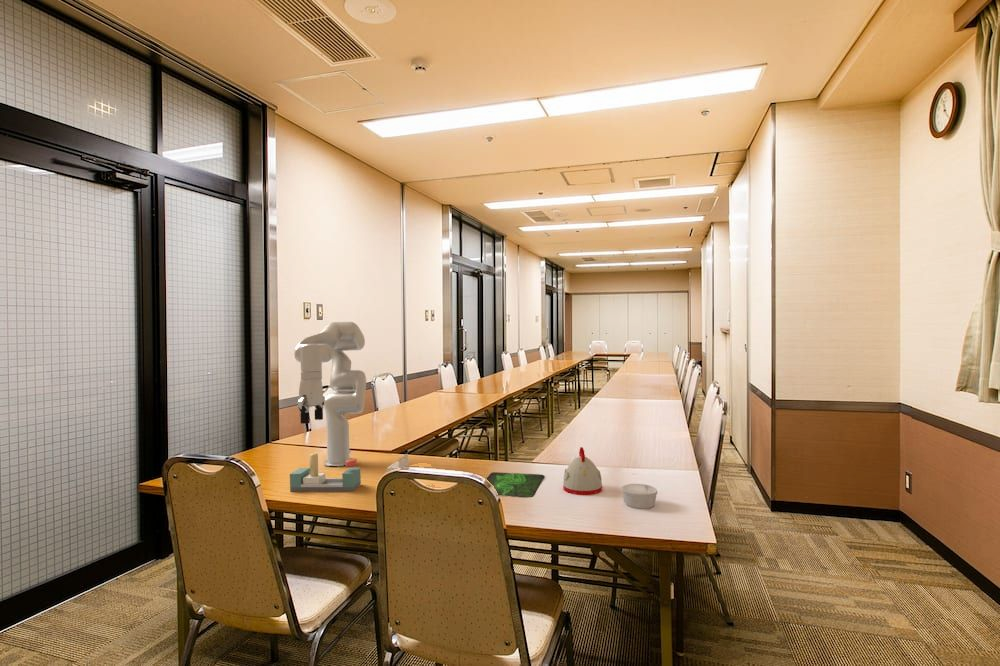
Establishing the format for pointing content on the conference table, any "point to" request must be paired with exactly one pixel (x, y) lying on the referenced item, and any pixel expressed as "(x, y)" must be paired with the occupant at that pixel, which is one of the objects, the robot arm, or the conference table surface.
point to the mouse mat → (515, 484)
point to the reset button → (351, 463)
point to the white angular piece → (399, 463)
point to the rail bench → (326, 481)
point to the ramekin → (639, 496)
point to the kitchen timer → (582, 477)
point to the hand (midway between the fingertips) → (312, 421)
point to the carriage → (314, 472)
